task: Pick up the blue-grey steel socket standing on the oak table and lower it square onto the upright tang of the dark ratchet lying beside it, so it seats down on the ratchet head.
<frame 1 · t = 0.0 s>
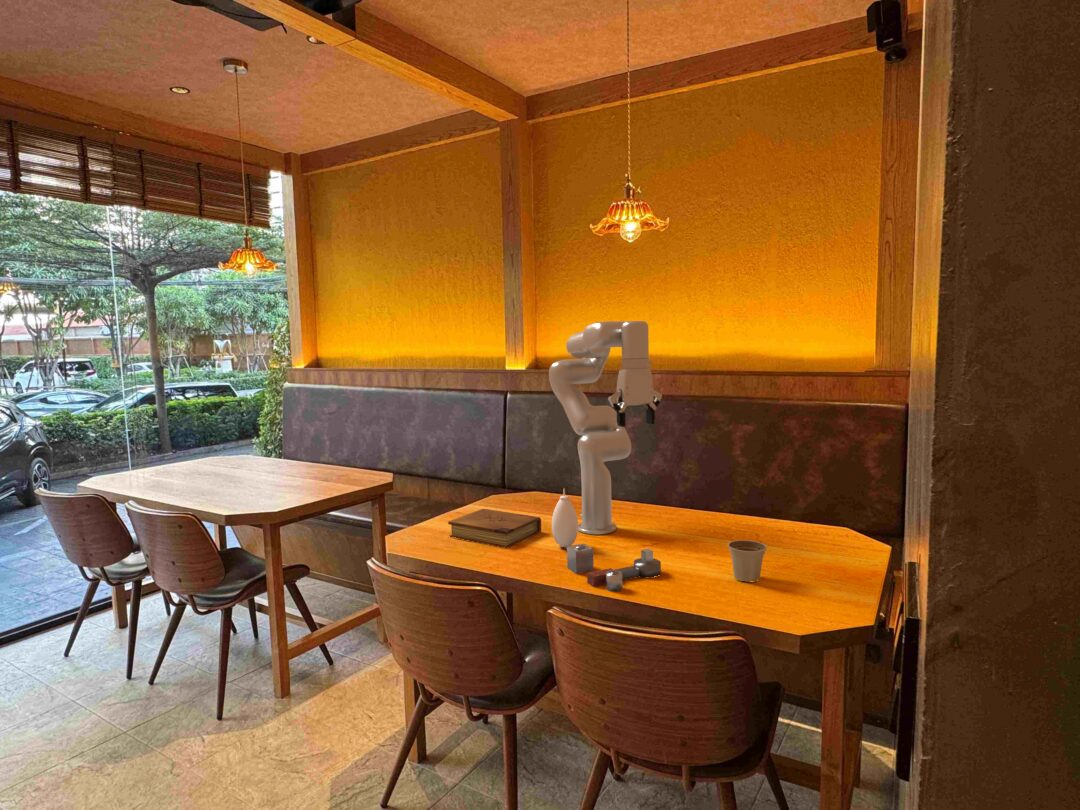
hand: (636, 424, 186), 37 cm above the table, tool pointing down, fingers open, 9 cm apart
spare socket: (614, 588, 161), on the table
flower pot: (746, 579, 166), on the table
diary: (495, 536, 209), on the table
white air blower bulb: (565, 547, 195), on the table
socket: (580, 569, 176), on the table
ratchet: (647, 573, 171), on the table
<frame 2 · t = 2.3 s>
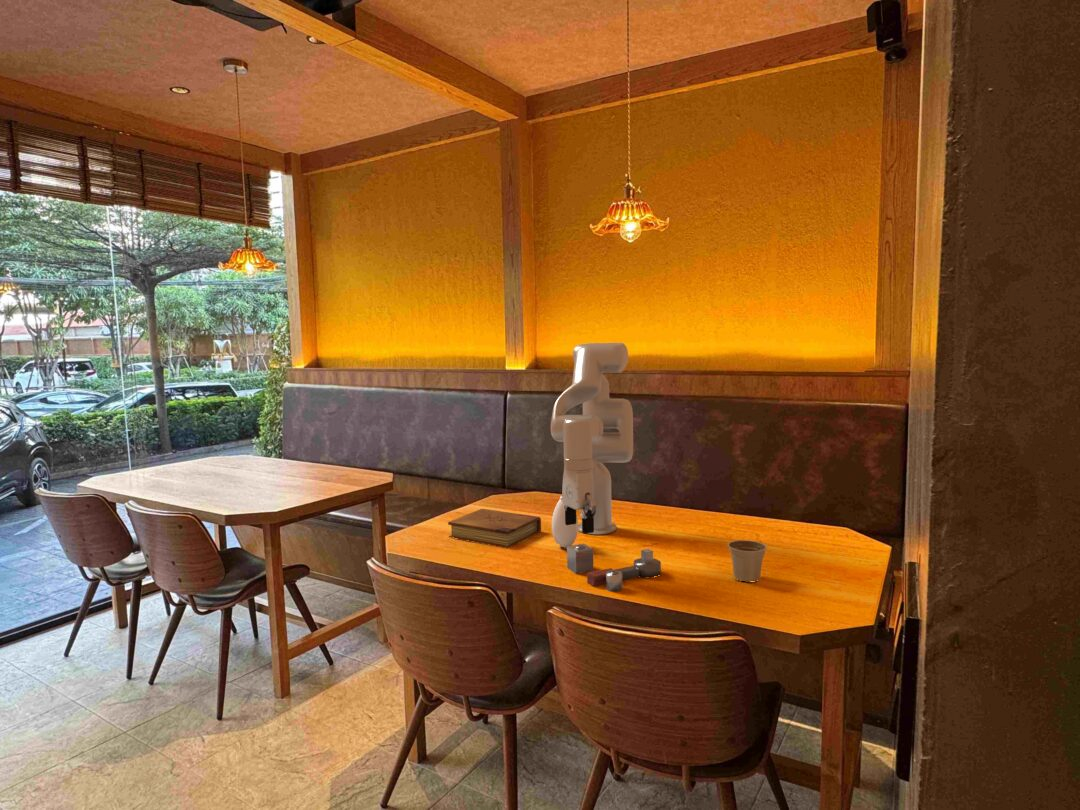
hand: (579, 528, 174), 11 cm above the table, tool pointing down, fingers open, 9 cm apart
nothing on the table moved.
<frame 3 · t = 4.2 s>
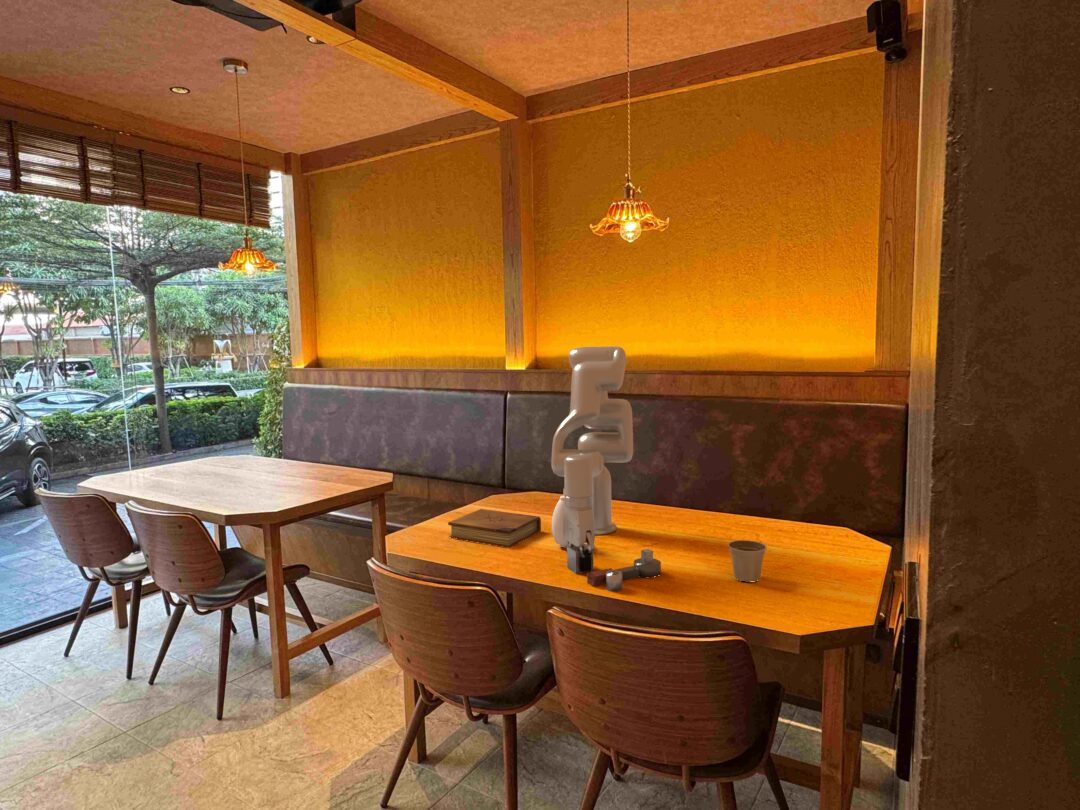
hand: (580, 566, 176), 1 cm above the table, tool pointing down, fingers closed on socket, 5 cm apart
socket: (580, 569, 176), on the table, touching gripper
everything else where it was.
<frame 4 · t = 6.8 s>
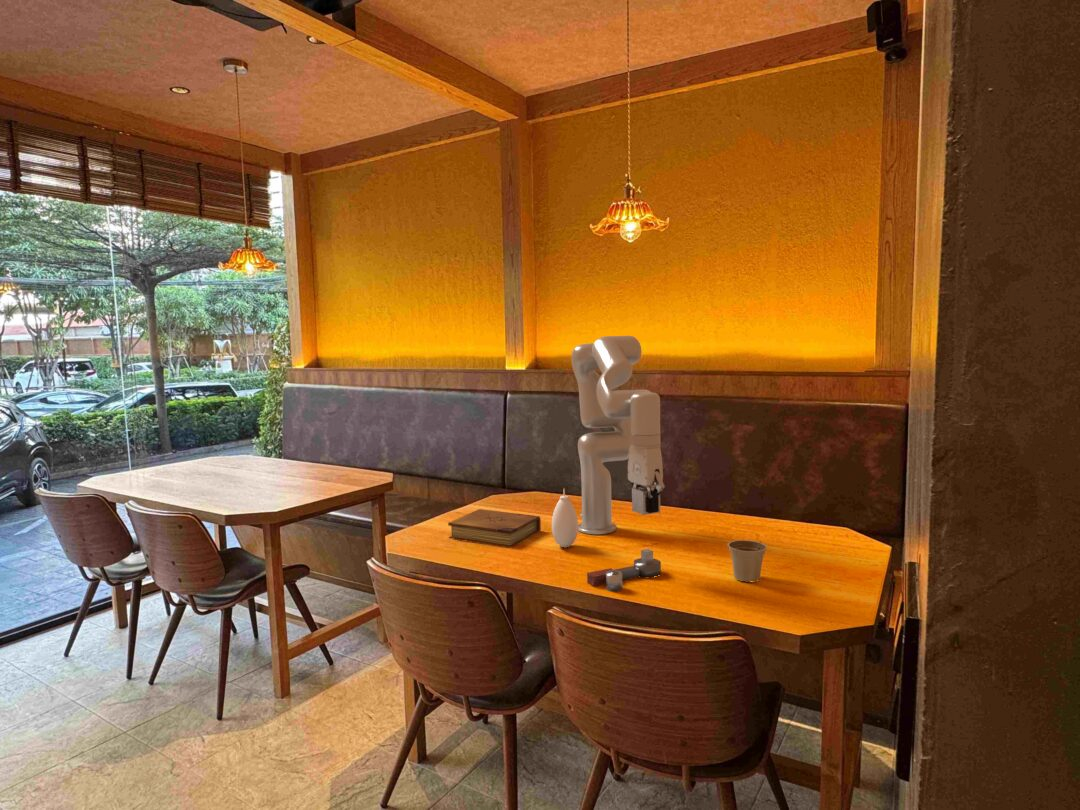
hand: (646, 509, 170), 17 cm above the table, tool pointing down, fingers closed on socket, 5 cm apart
socket: (646, 511, 170), point 17 cm above the table, touching gripper
everything else where it was.
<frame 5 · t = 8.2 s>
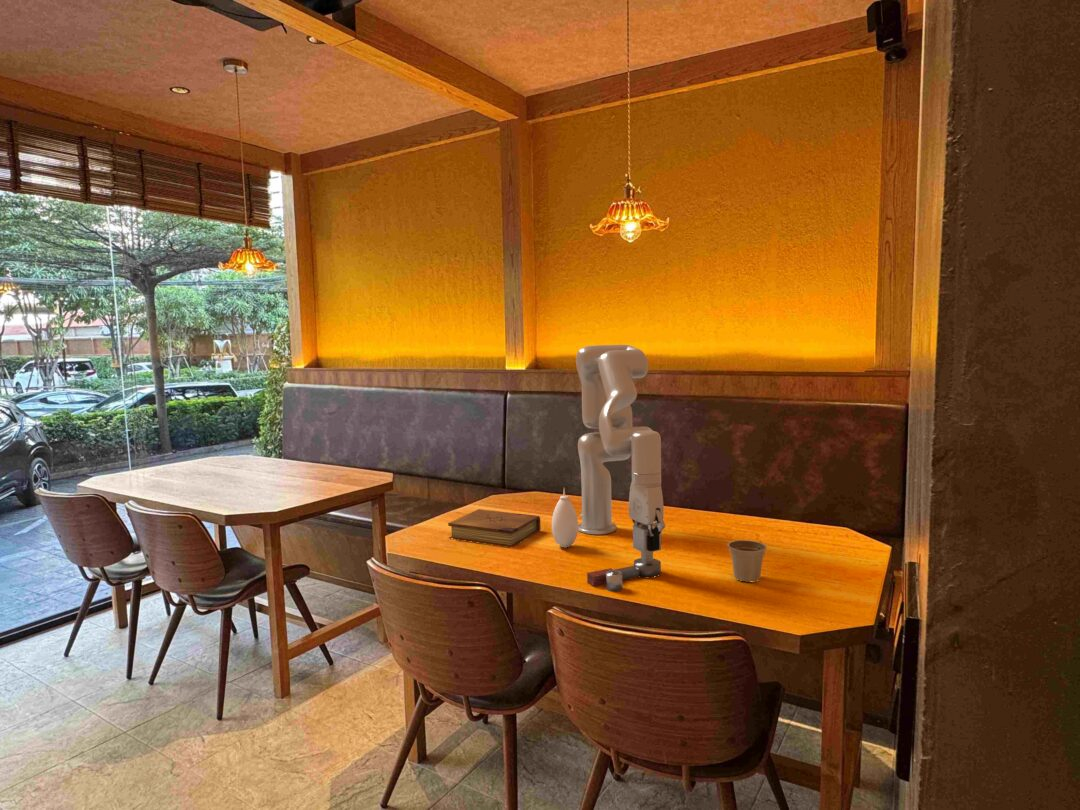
hand: (647, 546, 170), 7 cm above the table, tool pointing down, fingers closed on socket, 5 cm apart
socket: (647, 548, 171), point 7 cm above the table, touching gripper
everything else where it was.
when the fingers open (4 cm above the table, at t = 9.5 s): socket stays where it is, resting on ratchet.
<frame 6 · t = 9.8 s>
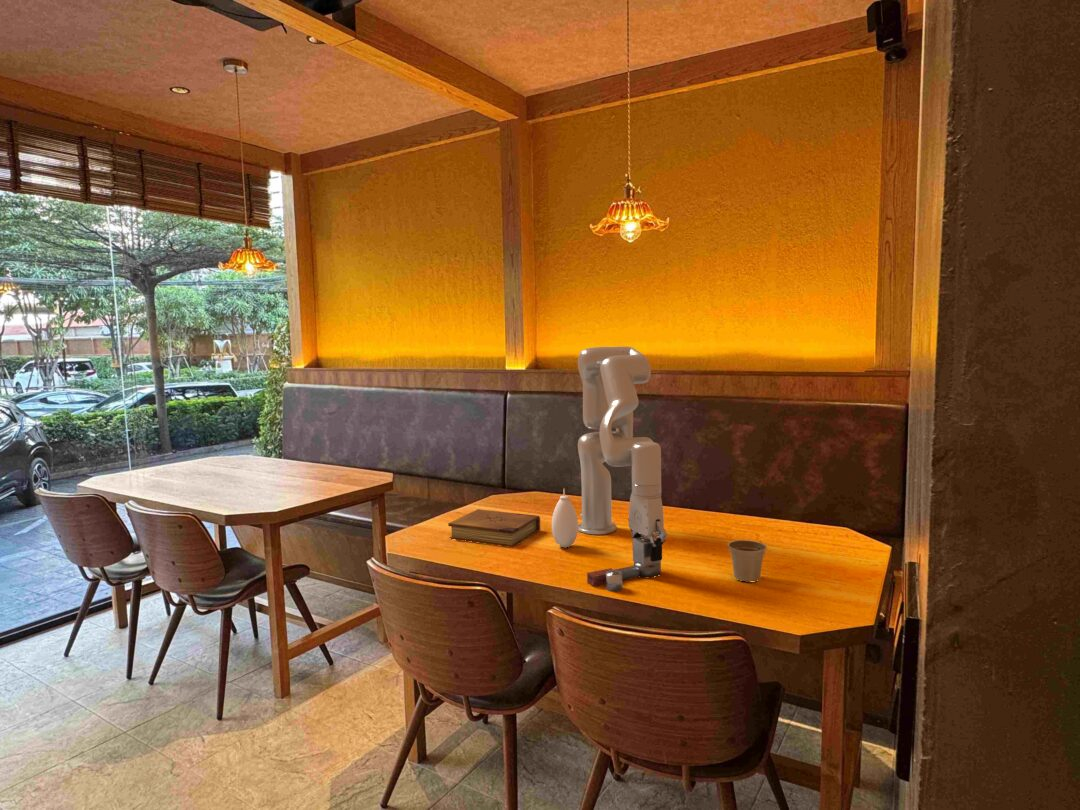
hand: (647, 555, 171), 5 cm above the table, tool pointing down, fingers open, 7 cm apart
socket: (646, 562, 171), point 3 cm above the table, touching ratchet
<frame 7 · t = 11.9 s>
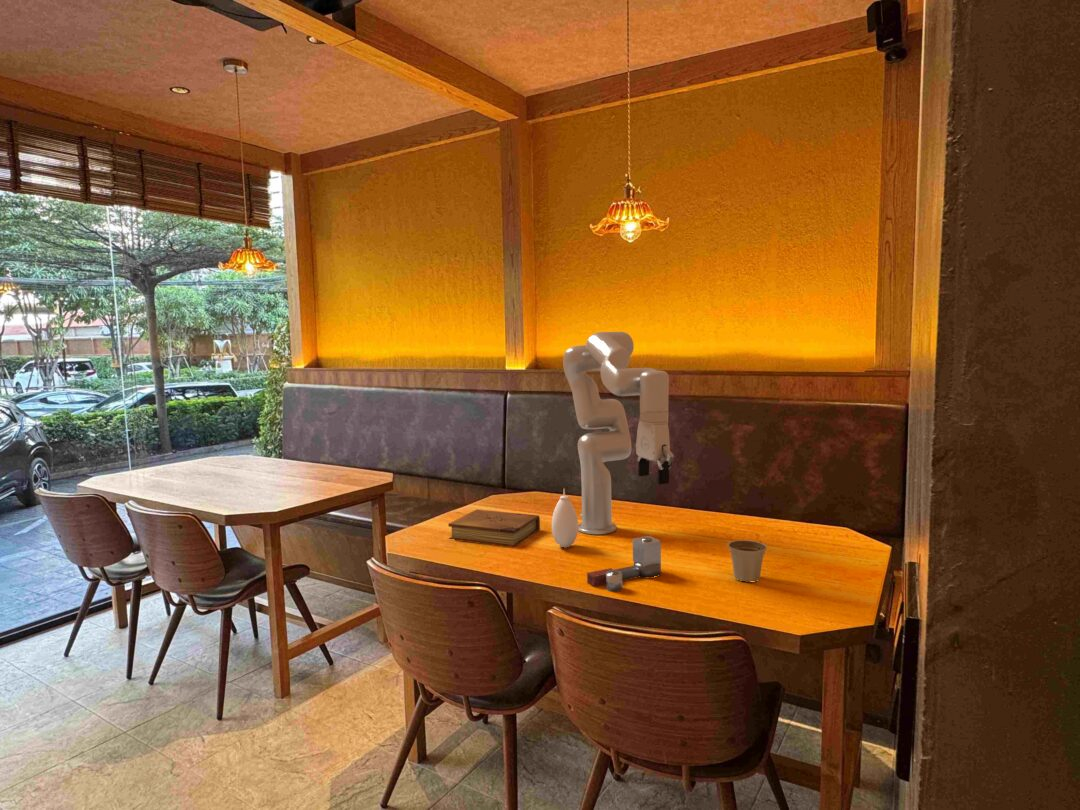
hand: (653, 479, 177), 23 cm above the table, tool pointing down, fingers open, 9 cm apart
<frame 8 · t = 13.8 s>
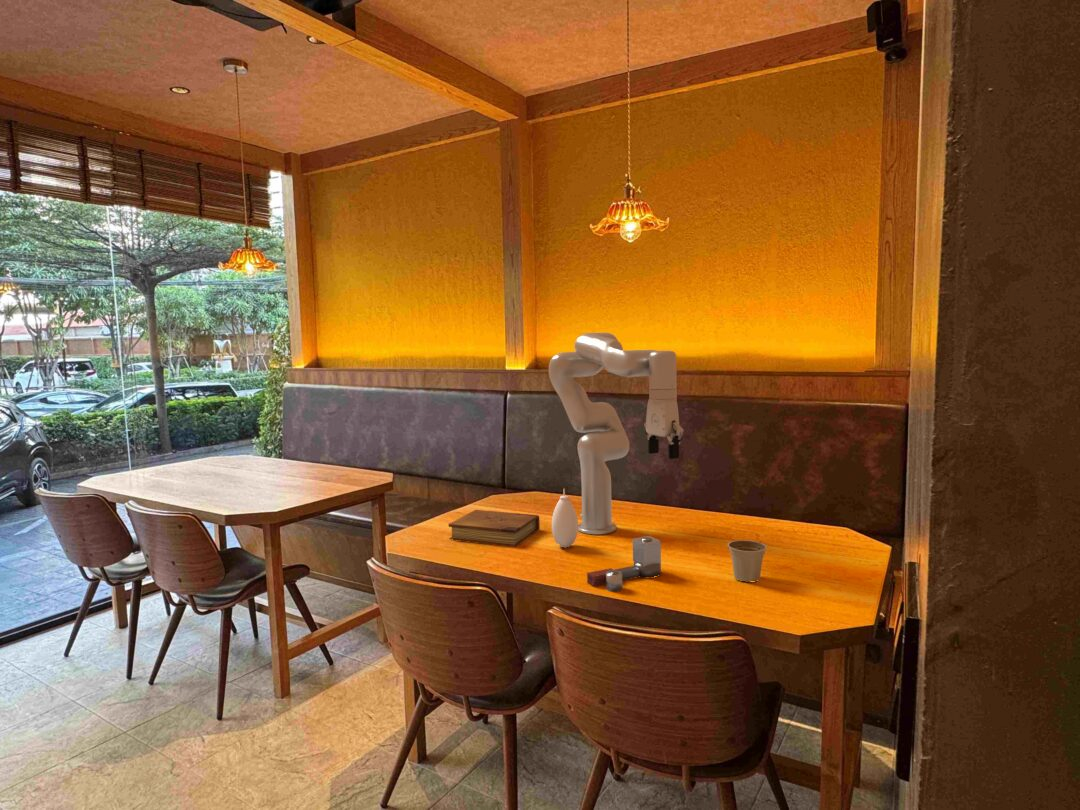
hand: (663, 455, 184), 28 cm above the table, tool pointing down, fingers open, 9 cm apart
at the end: socket 0.1 cm off-centre on the ratchet, point 3.0 cm above the ratchet's base; socket tilted 0°; the gripper is holding nothing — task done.
